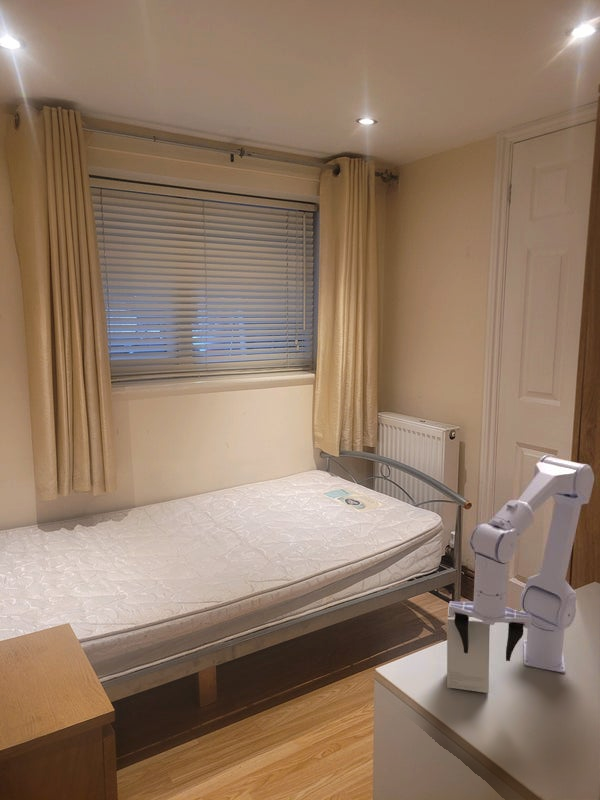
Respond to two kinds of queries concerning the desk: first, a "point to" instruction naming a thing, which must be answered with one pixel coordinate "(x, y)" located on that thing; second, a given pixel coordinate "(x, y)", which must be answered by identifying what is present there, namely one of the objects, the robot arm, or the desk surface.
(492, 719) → the desk surface
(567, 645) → the desk surface
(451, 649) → the skincare box
